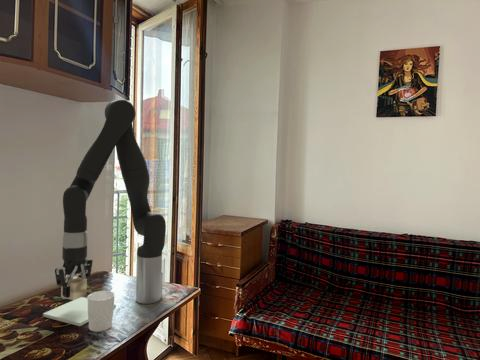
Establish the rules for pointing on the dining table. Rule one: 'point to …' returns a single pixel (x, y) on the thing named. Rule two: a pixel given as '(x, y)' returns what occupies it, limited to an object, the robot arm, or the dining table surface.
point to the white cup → (100, 310)
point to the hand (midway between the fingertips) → (74, 293)
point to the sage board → (71, 312)
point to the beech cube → (76, 288)
